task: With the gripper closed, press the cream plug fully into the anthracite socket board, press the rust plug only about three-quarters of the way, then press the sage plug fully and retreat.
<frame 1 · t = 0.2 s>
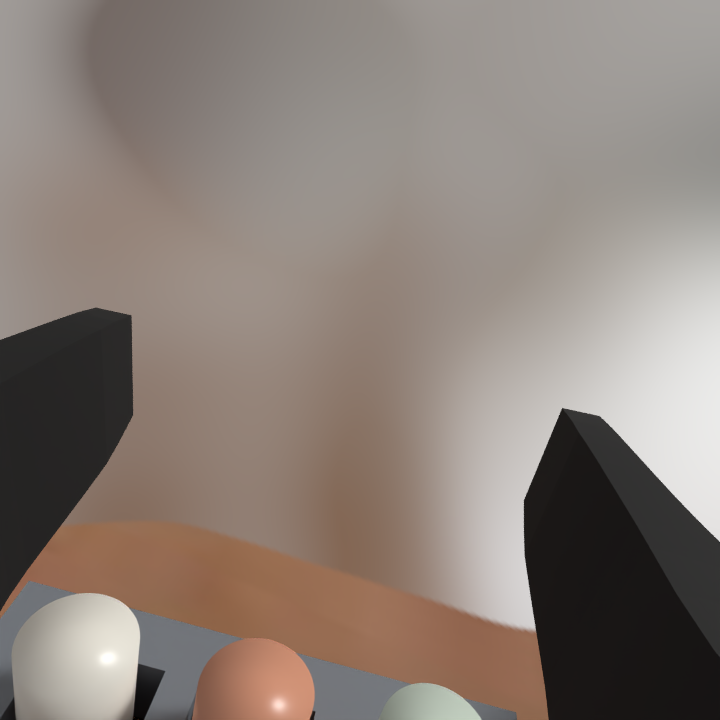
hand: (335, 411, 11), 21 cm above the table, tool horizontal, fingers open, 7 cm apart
plug cream: (77, 684, 22), point 5 cm above the table, slide at 0.0 cm
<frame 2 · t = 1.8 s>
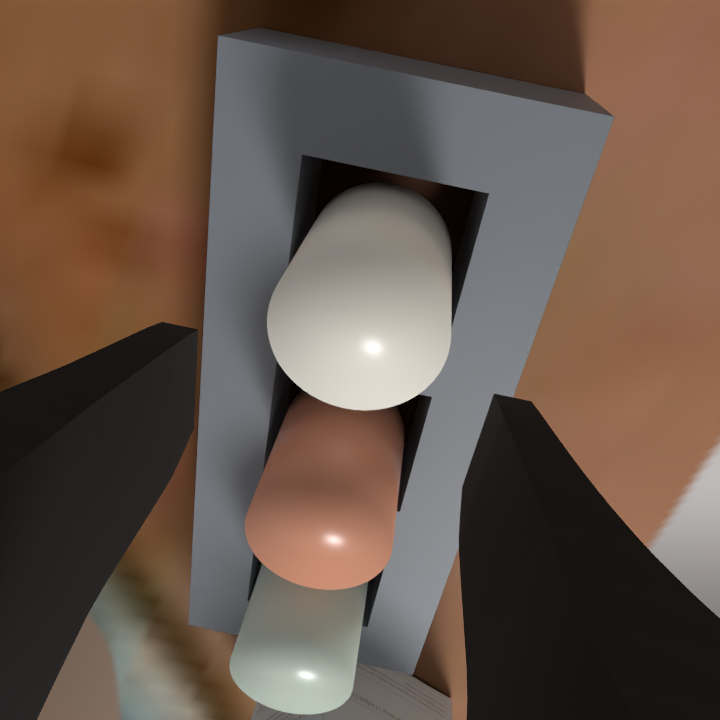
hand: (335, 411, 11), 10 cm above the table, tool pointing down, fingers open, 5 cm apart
plug rust: (332, 478, 18), point 5 cm above the table, slide at 0.0 cm
plug cream: (370, 288, 15), point 5 cm above the table, slide at 0.0 cm
socket board: (356, 380, 23), on the table
supplement box: (354, 691, 32), on the table
plug sage: (306, 612, 21), point 5 cm above the table, slide at 0.0 cm
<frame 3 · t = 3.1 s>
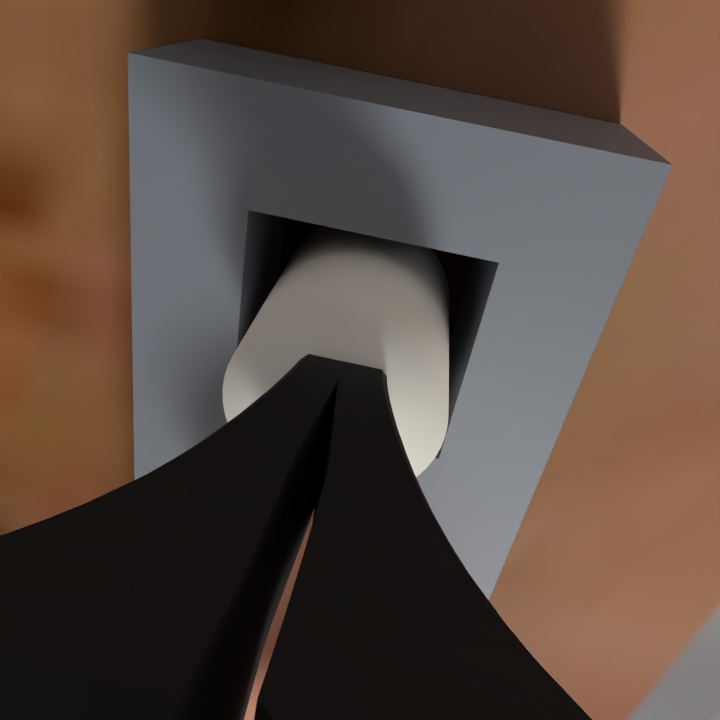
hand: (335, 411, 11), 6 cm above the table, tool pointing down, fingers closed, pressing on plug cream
plug rust: (298, 611, 14), point 5 cm above the table, slide at 0.0 cm
plug cream: (352, 346, 13), point 4 cm above the table, slide at 1.7 cm, touching gripper
socket board: (335, 460, 19), on the table
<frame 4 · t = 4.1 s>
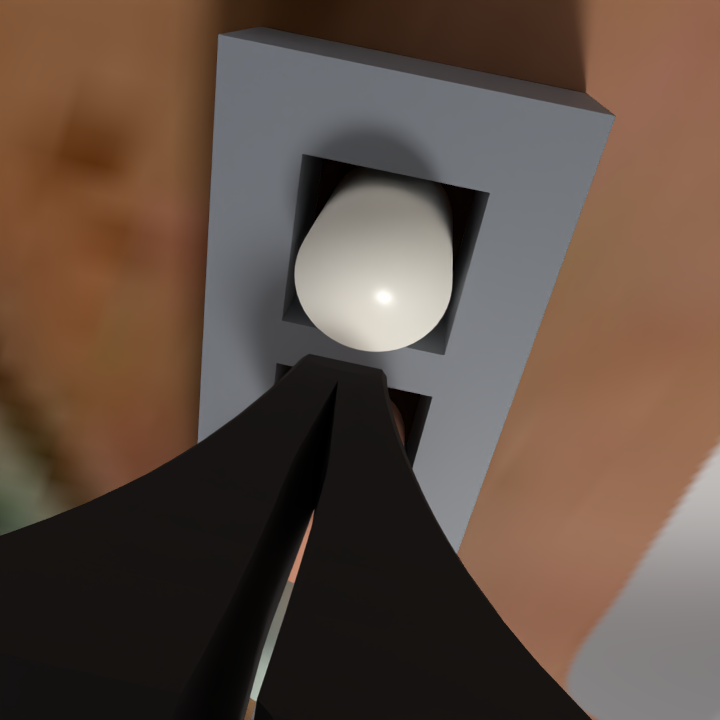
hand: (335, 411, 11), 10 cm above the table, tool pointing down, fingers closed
plug rust: (332, 478, 18), point 5 cm above the table, slide at 0.0 cm
plug cream: (381, 249, 17), point 3 cm above the table, slide at 2.6 cm
socket board: (357, 380, 23), on the table
plug sage: (306, 612, 21), point 5 cm above the table, slide at 0.0 cm
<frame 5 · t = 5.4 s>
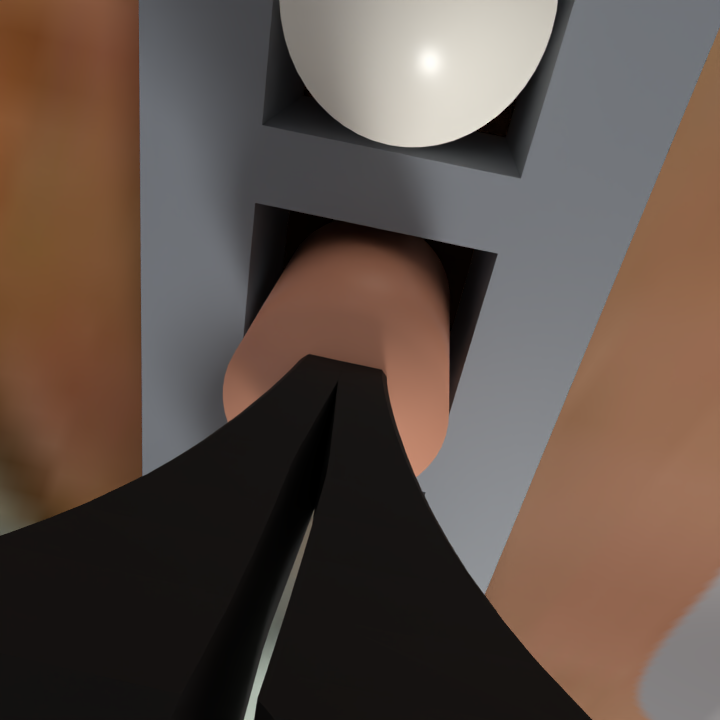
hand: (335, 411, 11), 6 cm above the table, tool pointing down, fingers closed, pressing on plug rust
plug rust: (352, 345, 13), point 4 cm above the table, slide at 1.2 cm, touching gripper
plug cream: (422, 1, 11), point 3 cm above the table, slide at 2.6 cm
socket board: (374, 268, 16), on the table
plug sage: (302, 594, 15), point 5 cm above the table, slide at 0.0 cm
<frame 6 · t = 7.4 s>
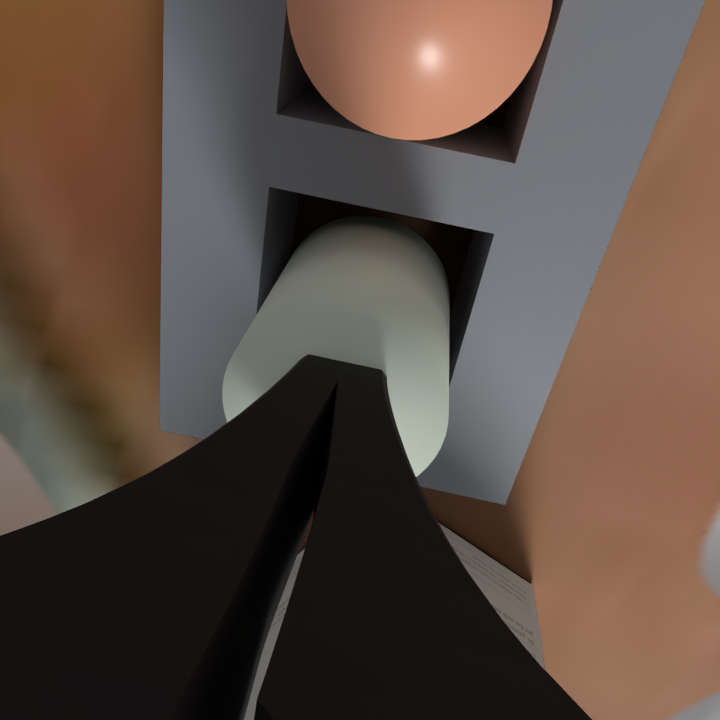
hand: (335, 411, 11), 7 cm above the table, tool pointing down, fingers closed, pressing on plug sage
plug rust: (422, 0, 11), point 3 cm above the table, slide at 2.0 cm
supplement box: (395, 580, 24), on the table
plug sage: (352, 345, 13), point 5 cm above the table, slide at 0.2 cm, touching gripper
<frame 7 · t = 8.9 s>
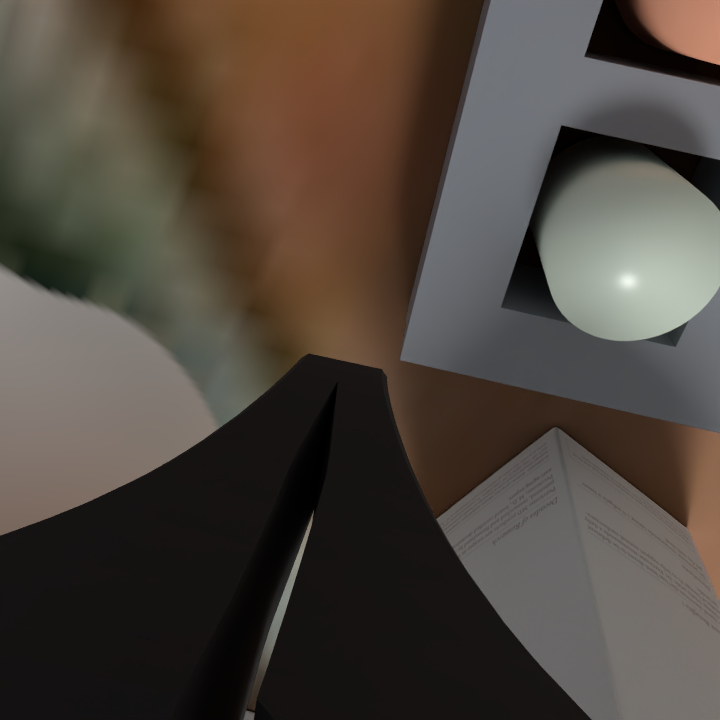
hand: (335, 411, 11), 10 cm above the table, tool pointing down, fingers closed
supplement box: (551, 525, 25), on the table
plug sage: (614, 231, 16), point 3 cm above the table, slide at 2.6 cm
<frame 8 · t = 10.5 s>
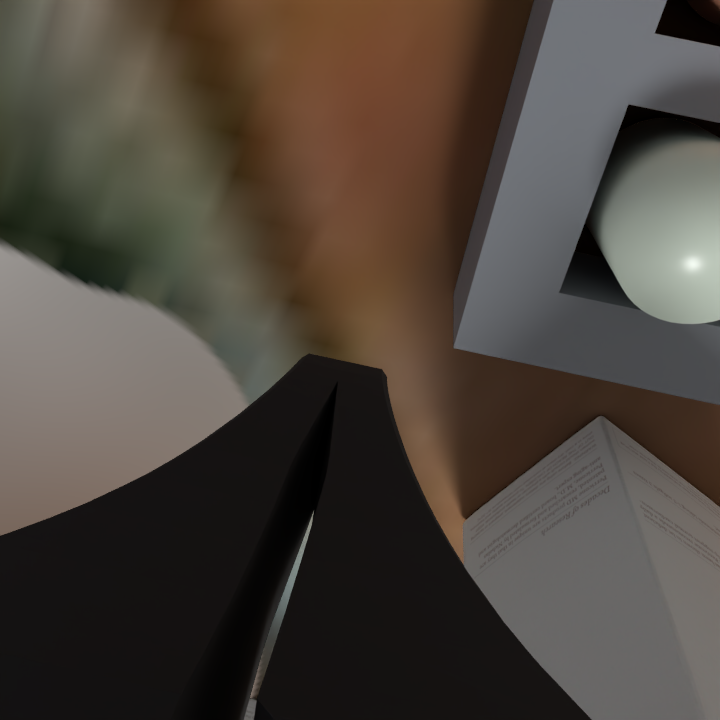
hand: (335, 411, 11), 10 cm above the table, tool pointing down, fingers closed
supplement box: (592, 516, 25), on the table
plug sage: (675, 214, 16), point 3 cm above the table, slide at 2.6 cm
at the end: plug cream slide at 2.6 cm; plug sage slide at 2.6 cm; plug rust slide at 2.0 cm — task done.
